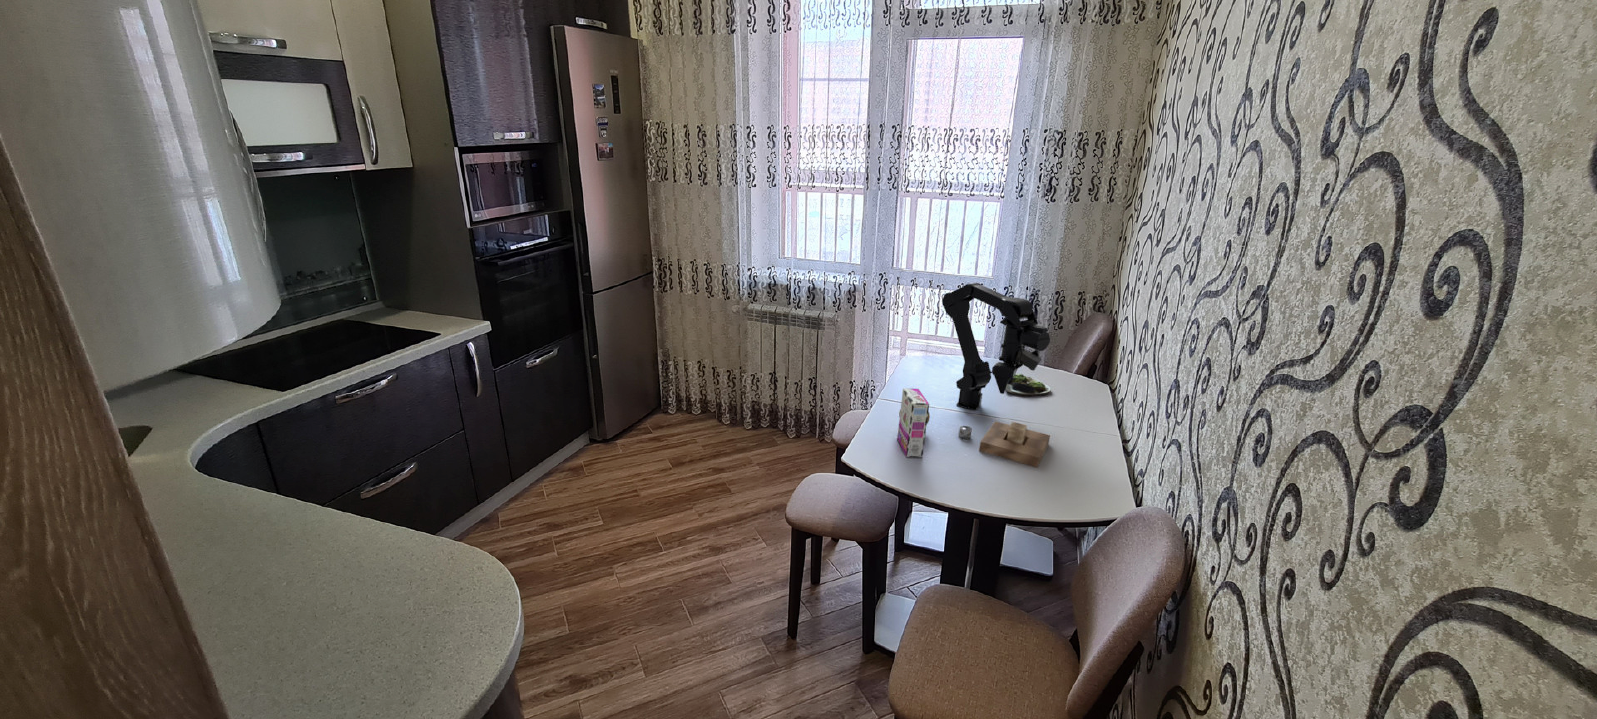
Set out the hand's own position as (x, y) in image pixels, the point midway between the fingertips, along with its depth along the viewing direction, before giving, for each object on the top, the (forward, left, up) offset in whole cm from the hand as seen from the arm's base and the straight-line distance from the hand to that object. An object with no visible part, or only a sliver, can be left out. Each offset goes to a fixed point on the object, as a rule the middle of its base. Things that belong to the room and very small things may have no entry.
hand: (1005, 388), depth 191 cm
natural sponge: (-20, -24, -11) cm, 33 cm away
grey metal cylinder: (-6, -18, -11) cm, 22 cm away
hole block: (+8, -16, -11) cm, 21 cm away
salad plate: (0, +32, -12) cm, 34 cm away
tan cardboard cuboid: (+8, -16, -11) cm, 21 cm away
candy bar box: (-17, -34, -11) cm, 40 cm away
